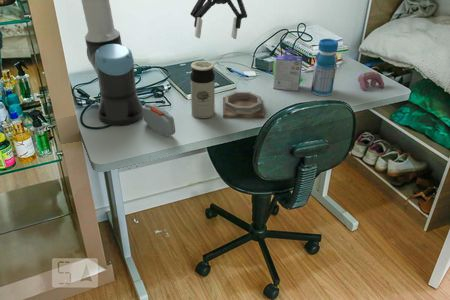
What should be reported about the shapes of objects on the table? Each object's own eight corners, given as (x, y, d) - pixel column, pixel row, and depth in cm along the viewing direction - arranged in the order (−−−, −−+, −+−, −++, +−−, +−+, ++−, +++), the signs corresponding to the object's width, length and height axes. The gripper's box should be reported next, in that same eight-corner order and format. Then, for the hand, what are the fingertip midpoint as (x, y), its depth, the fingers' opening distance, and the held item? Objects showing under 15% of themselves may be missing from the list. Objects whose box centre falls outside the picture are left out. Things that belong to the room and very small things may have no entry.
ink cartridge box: (299, 85, 175) (303, 50, 168) (298, 91, 171) (302, 55, 163) (274, 83, 177) (277, 48, 169) (273, 89, 172) (275, 53, 165)
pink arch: (378, 88, 178) (377, 70, 177) (385, 87, 174) (384, 69, 173) (357, 91, 175) (355, 73, 174) (364, 91, 171) (362, 72, 170)
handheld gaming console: (176, 137, 141) (175, 115, 137) (169, 140, 140) (168, 118, 135) (149, 121, 150) (147, 100, 145) (141, 124, 148) (139, 102, 144)
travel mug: (194, 107, 159) (193, 59, 149) (216, 109, 158) (216, 61, 148) (188, 117, 152) (187, 68, 142) (211, 120, 151) (211, 70, 141)
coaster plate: (223, 117, 153) (223, 108, 151) (222, 99, 164) (223, 90, 162) (263, 117, 153) (264, 108, 151) (260, 99, 164) (261, 91, 163)
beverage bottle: (318, 98, 166) (325, 46, 155) (306, 89, 173) (312, 39, 162) (337, 94, 169) (345, 43, 158) (324, 85, 175) (331, 36, 165)
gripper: (261, -20, 151) (253, 41, 150) (195, -18, 160) (187, 39, 160) (254, -30, 144) (246, 34, 143) (186, -28, 153) (178, 33, 153)
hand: (215, 37), depth 152 cm, fingers open, 13 cm apart
